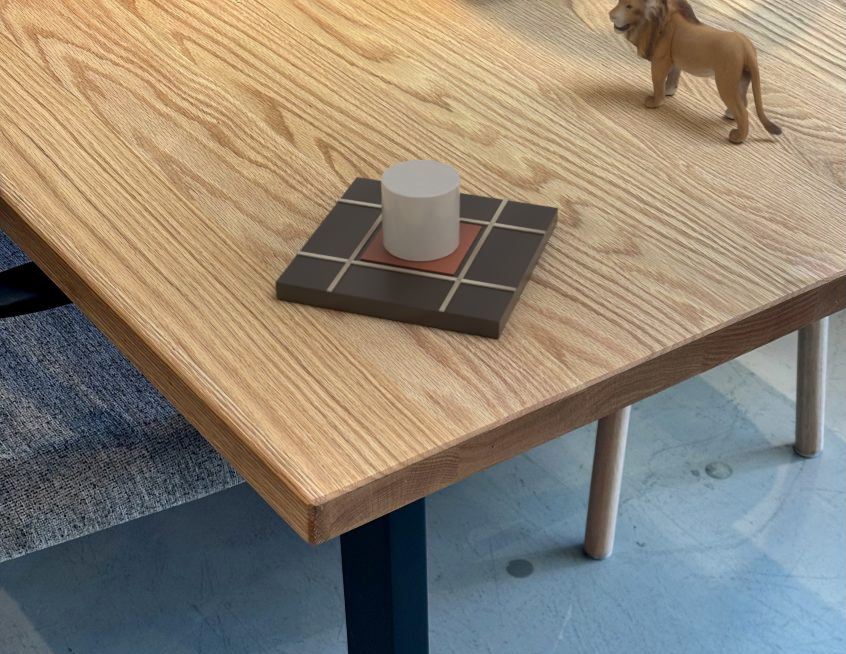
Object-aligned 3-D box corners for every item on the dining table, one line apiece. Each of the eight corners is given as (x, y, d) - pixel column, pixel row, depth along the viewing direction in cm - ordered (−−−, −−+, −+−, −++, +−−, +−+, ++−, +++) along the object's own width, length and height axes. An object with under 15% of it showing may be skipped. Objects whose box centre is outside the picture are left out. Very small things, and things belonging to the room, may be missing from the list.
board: (557, 223, 87) (558, 206, 86) (498, 339, 77) (499, 320, 76) (357, 192, 90) (356, 175, 89) (276, 299, 80) (274, 280, 79)
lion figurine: (591, 98, 101) (600, -22, 95) (629, 75, 104) (641, -43, 98) (762, 154, 94) (784, 28, 88) (798, 128, 97) (822, 4, 91)
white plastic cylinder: (469, 229, 84) (470, 165, 81) (446, 267, 80) (446, 202, 77) (397, 217, 85) (396, 154, 82) (371, 255, 82) (369, 190, 79)
